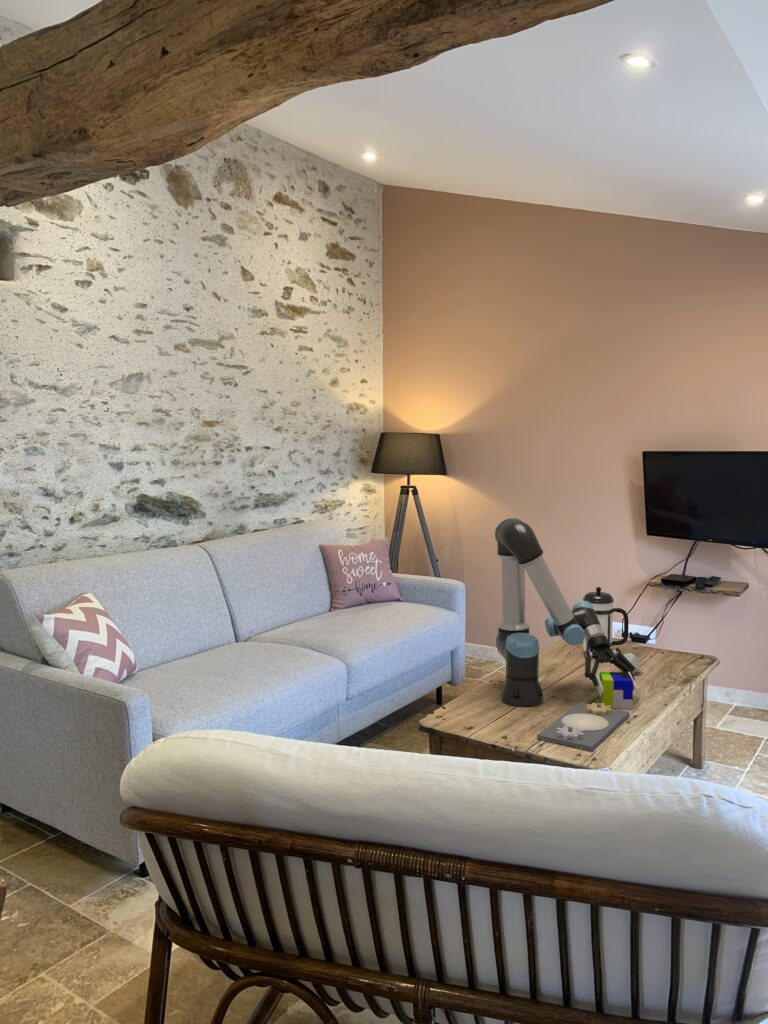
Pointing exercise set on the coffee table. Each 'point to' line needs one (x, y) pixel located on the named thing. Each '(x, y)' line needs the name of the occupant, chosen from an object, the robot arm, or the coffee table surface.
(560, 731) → the gear board
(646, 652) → the coffee table surface
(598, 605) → the coffee press
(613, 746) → the coffee table surface
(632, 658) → the die
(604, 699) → the puzzle toy
